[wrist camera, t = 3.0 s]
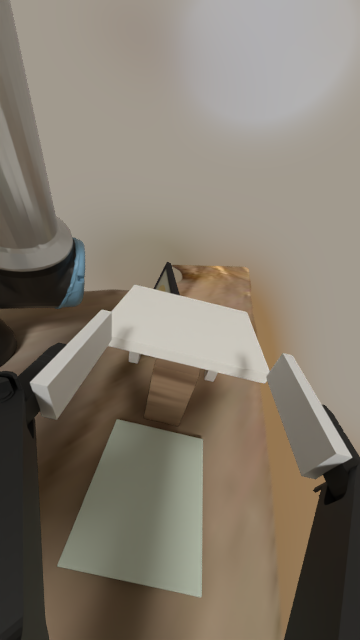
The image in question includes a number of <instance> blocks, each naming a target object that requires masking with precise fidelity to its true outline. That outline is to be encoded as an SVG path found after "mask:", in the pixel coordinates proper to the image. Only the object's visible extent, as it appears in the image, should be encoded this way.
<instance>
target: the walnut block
mask: <svg viewBox="0 0 360 640" xmlns="http://www.w3.org/2000/svg"><path fill="white" fill-rule="evenodd" d="M198 378H199V368H198V367H194V366H189V365H185V364H181V363H177V362H173V361H169V360H164V359H160V358H156V361H155V364H154V368H153V373H152V379H151V384H150V389H149V394H148V399H147V404H146V409H145V414H144V418H145V419H149V420H154V421H158V422H162V423H167V424H171V425H175V426H179V424H180V421H181V419H182V416H183V414H184V412H185V409H186V407H187V404H188V402H189V399H190V397H191V395H192V392H193V390H194V387H195V385H196V382H197V380H198Z"/></svg>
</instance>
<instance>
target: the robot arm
mask: <svg viewBox="0 0 360 640" xmlns="http://www.w3.org/2000/svg"><path fill="white" fill-rule="evenodd" d="M84 250H85V249H84V244H83V242H82V241H80V240H78V239H76V238H73V237H72V235H71V232H70V229H69V228H68V227H67V225H66V224H65V223H64V222H63V221H62V220H60V218H58V217H57V216H56V215H55V210H54V206H53V201H52V197H51V192H50V187H49V182H48V178H47V173H46V168H45V164H44V159H43V154H42V149H41V145H40V140H39V135H38V131H37V126H36V121H35V117H34V112H33V107H32V103H31V98H30V94H29V88H28V84H27V79H26V74H25V70H24V65H23V60H22V56H21V51H20V46H19V42H18V37H17V32H16V27H15V23H14V18H13V13H12V8H11V4H10V0H0V309H9V308H56V309H60V308H62V307H74V306H77V305H79V304H80V303H81V302H82V299H83V294H84V275H85V251H84ZM111 340H112V312H111V311H106V310H101V311H100V312H99V313H98V314H97V315H96V316H95V317H94V318H93V319H92V320H91V321H90V322H89V323H88V324H87V325H86V326H85V327H84V328H83V329H82V330H81V331H80V332H79V333H78V334H77V335H76V336H75V337H74V338H73V339H72V340H71V341H70V342H69V343H68V344H62V343H57V344H55V345H53V346H51V347H50V348H48V349H47V350H46V351H45V352H44V353H43V354H42V355H41V356H40V357H39V358H38V359H37V360H36V361H34V362H33V363H32V364H31V365H30V366H29V367H28V368H27V369H26V370H24V371H23V372H22V373H21V374H20V375H19V376H18V377H17V374H15V373H13V372H10V371H2V372H0V640H49V635H48V630H47V626H46V620H45V606H44V586H43V566H42V546H41V526H40V507H39V487H38V467H37V447H36V427H35V418H34V417H35V416H36V415H37V414H38V412H39V411H40V412H41V415H42V417H46V418H51V419H55V420H57V419H58V417H59V416H60V415H61V413H62V412H63V410H64V409H65V407H66V406H67V404H68V403H69V401H70V400H71V399H72V397H73V396H74V394H75V393H76V391H77V390H78V388H79V387H80V385H81V384H82V383H83V381H84V380H85V378H86V377H87V375H88V374H89V372H90V371H91V369H92V368H93V367H94V365H95V364H96V362H97V361H98V359H99V358H100V356H101V355H102V353H103V352H104V351H105V349H106V348H107V346H108V345H109V343H110V342H111ZM16 346H17V341H16V339H15V336H14V333H13V331H12V330H11V328H10V327H8V326H7V325H6V324H5V323H4V322H3V321H2V320H1V319H0V366H1V365H2V364H4V363H5V362H6V361H7V360H8V359H9V358H10V357H11V356H12V355H13V353H14V352H15V349H16ZM266 378H267V381H268V384H269V387H270V390H271V392H272V395H273V398H274V401H275V403H276V406H277V409H278V412H279V414H280V417H281V420H282V423H283V426H284V428H285V431H286V434H287V437H288V440H289V442H290V445H291V448H292V451H293V454H294V456H295V459H296V462H297V465H298V467H299V470H300V473H301V476H304V477H308V478H313V479H317V478H318V477H320V476H322V475H323V476H324V478H325V480H326V482H325V483H323V484H321V485H319V486H317V487H315V489H314V490H313V491H314V492H318V491H319V490H321V492H320V495H319V501H318V505H317V508H316V512H315V517H314V521H313V525H312V529H311V533H310V537H309V541H308V545H307V549H306V554H305V557H304V561H303V565H302V569H301V574H300V577H299V581H298V586H297V590H296V594H295V598H294V602H293V606H292V610H291V614H290V618H289V622H288V626H287V630H286V634H285V638H284V640H360V457H359V455H358V454H357V452H356V450H355V449H354V447H353V445H352V444H351V442H350V441H349V439H348V437H347V436H346V434H345V433H344V432H343V429H342V428H341V426H340V425H339V423H338V421H337V420H336V418H335V416H334V415H333V413H332V412H331V411H330V410H329V409H328V408H327V407H326V406H325V405H322V404H321V403H320V401H319V399H318V398H317V396H316V394H315V393H314V391H313V389H312V388H311V386H310V384H309V382H308V381H307V379H306V377H305V376H304V374H303V372H302V371H301V369H300V367H299V366H298V364H297V362H296V360H295V359H294V357H293V355H289V354H285V353H283V354H282V355H281V356H280V358H279V359H278V361H277V362H276V363H275V365H274V366H273V368H272V369H271V371H270V372H269V373H268V375H267V376H266Z"/></svg>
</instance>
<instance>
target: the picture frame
mask: <svg viewBox="0 0 360 640" xmlns="http://www.w3.org/2000/svg"><path fill="white" fill-rule="evenodd" d="M154 289H155V290H159V291H163V292H167V293H171V294H175V295H179V291H178V288H177V284H176V281H175V277H174V273H173V270H172V266H171V263H169V262H167V263H166V265H165V267H164V269H163V271H162V273H161V275H160V277H159V279H158V281H157V283H156V285H155V287H154ZM179 296H180V295H179Z"/></svg>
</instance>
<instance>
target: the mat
mask: <svg viewBox="0 0 360 640" xmlns="http://www.w3.org/2000/svg"><path fill="white" fill-rule="evenodd" d="M202 488H203V439H200V438H196V437H192V436H187V435H183V434H179V433H174V432H170V431H166V430H161V429H157V428H153V427H149V426H144V425H140V424H136V423H131V422H127V421H123V420H118V419H117V420H116V423H115V425H114V428H113V430H112V432H111V435H110V437H109V440H108V442H107V445H106V447H105V450H104V452H103V455H102V457H101V459H100V462H99V464H98V467H97V469H96V472H95V474H94V477H93V479H92V482H91V484H90V486H89V489H88V491H87V494H86V496H85V499H84V501H83V504H82V506H81V508H80V511H79V513H78V516H77V518H76V521H75V523H74V526H73V528H72V531H71V533H70V535H69V538H68V540H67V543H66V545H65V548H64V550H63V553H62V555H61V558H60V560H59V562H58V565H57V566H58V567H62V568H66V569H71V570H76V571H80V572H85V573H90V574H94V575H99V576H104V577H108V578H113V579H118V580H122V581H127V582H131V583H136V584H141V585H145V586H150V587H155V588H159V589H164V590H169V591H173V592H178V593H183V594H187V595H192V596H197V597H202Z"/></svg>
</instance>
